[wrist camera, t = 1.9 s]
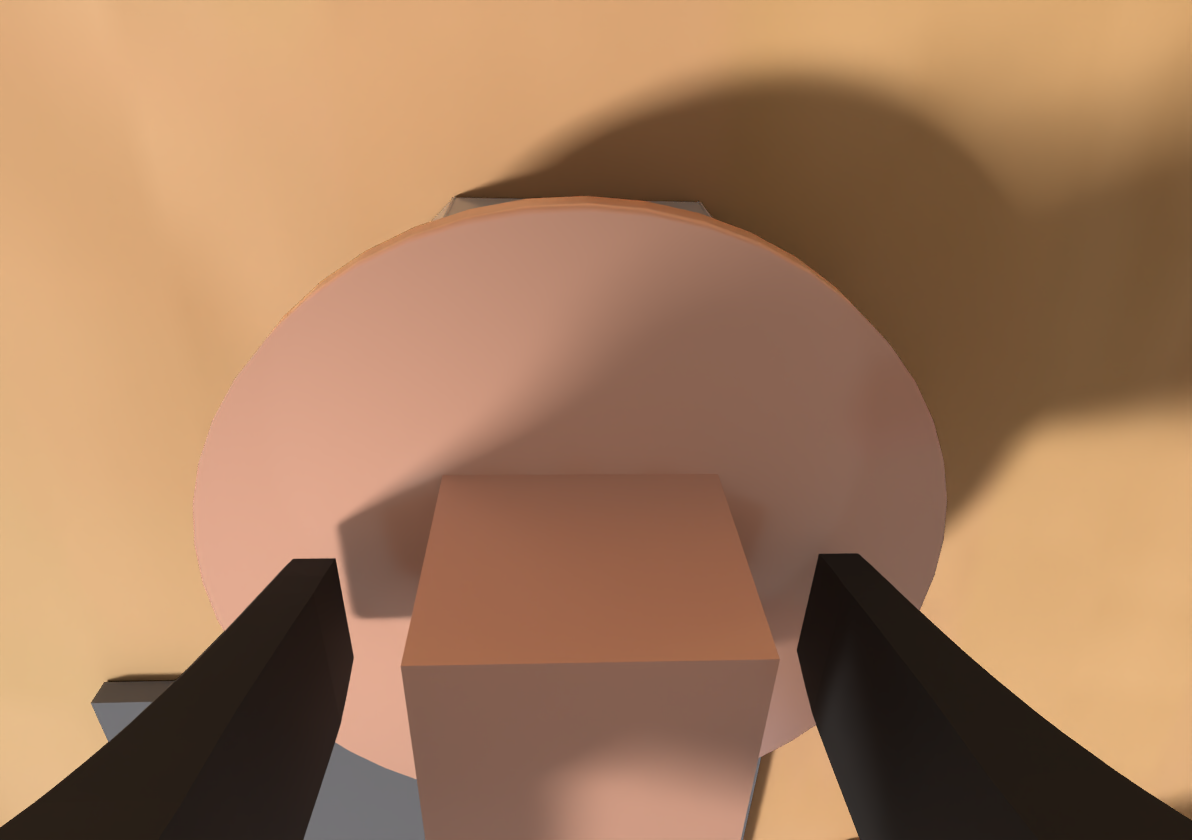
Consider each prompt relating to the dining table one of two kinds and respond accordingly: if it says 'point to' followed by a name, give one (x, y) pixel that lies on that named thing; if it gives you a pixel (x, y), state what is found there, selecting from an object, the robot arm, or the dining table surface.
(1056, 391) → the dining table surface
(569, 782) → the lid
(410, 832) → the mat
